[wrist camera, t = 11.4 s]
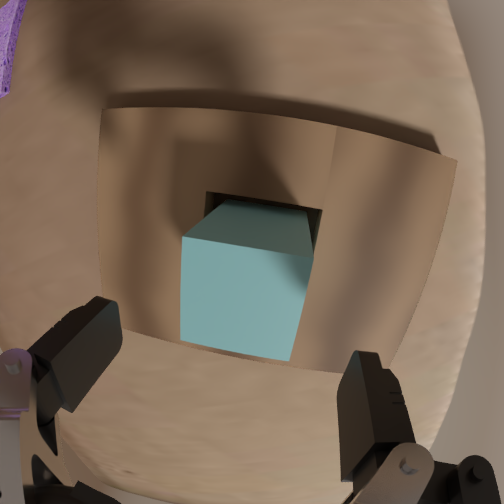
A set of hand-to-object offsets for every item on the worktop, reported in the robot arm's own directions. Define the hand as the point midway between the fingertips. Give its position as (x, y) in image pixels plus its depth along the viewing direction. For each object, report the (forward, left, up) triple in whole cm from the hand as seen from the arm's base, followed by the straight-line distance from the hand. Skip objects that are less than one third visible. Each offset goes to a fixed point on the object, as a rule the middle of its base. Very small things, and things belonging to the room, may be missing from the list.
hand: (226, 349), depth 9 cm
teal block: (0, 0, -11) cm, 11 cm away
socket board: (0, 0, -11) cm, 11 cm away
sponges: (+30, -17, -12) cm, 36 cm away
